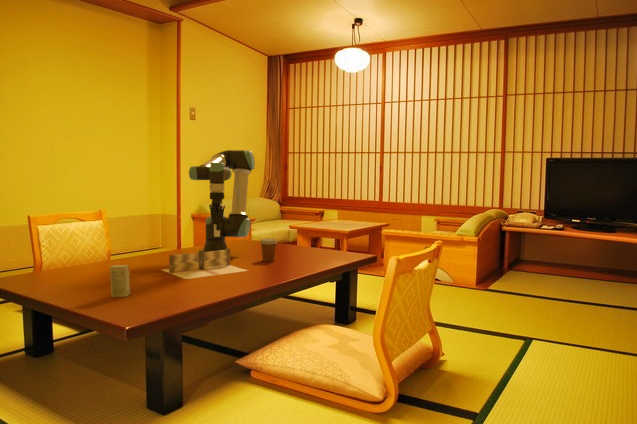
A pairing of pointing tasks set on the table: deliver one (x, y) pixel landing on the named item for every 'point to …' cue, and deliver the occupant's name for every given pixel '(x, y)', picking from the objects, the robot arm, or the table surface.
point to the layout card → (206, 271)
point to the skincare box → (120, 280)
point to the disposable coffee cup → (268, 249)
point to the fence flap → (216, 258)
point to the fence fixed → (186, 261)
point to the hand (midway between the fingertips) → (216, 236)
